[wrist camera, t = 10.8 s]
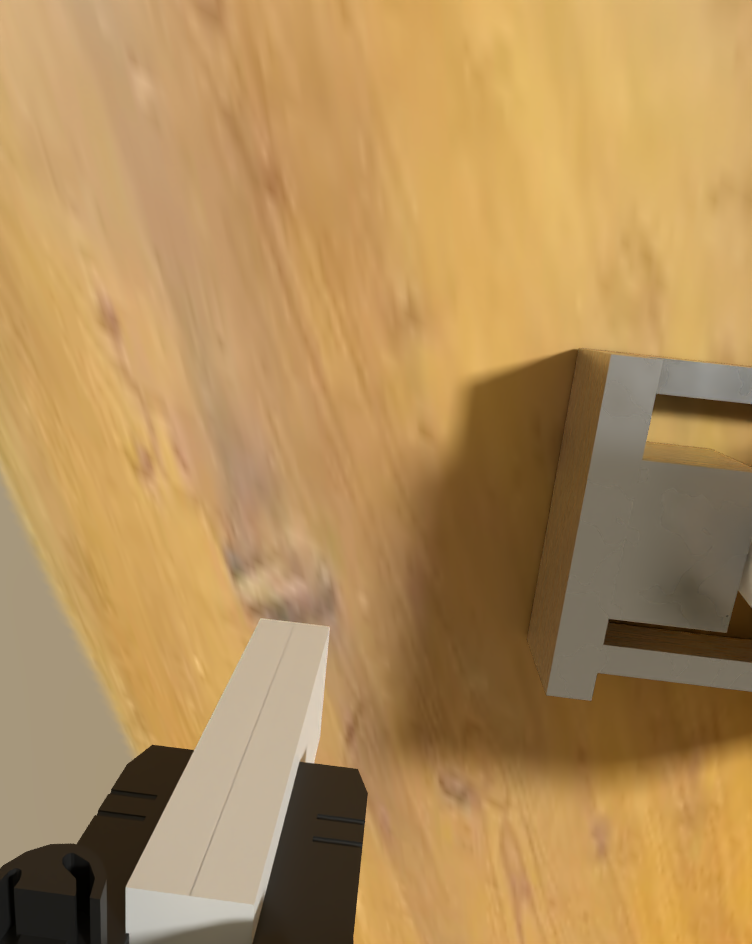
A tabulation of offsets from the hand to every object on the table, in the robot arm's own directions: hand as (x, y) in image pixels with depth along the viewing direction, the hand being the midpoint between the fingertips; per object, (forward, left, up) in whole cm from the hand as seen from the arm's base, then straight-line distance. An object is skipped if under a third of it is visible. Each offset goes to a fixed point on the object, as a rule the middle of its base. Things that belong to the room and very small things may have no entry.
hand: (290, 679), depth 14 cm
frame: (0, +17, -19) cm, 25 cm away
